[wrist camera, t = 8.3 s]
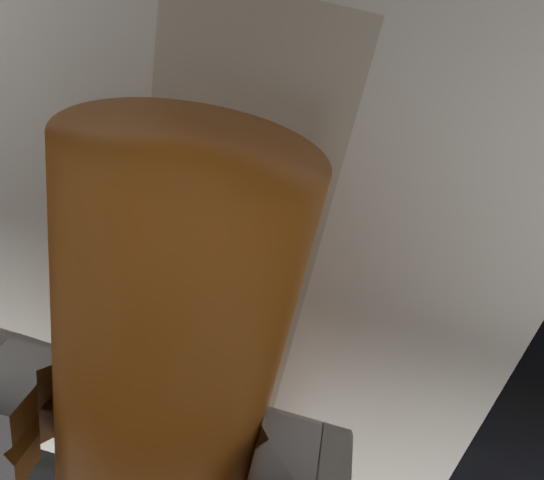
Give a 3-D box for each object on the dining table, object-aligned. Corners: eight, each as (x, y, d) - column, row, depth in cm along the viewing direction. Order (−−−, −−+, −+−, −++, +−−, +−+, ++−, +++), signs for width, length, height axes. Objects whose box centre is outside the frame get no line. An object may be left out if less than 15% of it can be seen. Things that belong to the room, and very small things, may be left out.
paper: (-99, -197, 9) (-116, -203, 8) (731, -17, 8) (746, -17, 7) (-16, 422, 16) (-23, 430, 16) (400, 549, 16) (401, 560, 15)
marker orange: (123, 82, 8) (-42, 149, 5) (344, 136, 8) (321, 246, 5) (102, 526, 14) (23, 685, 11) (225, 565, 14) (180, 739, 11)
